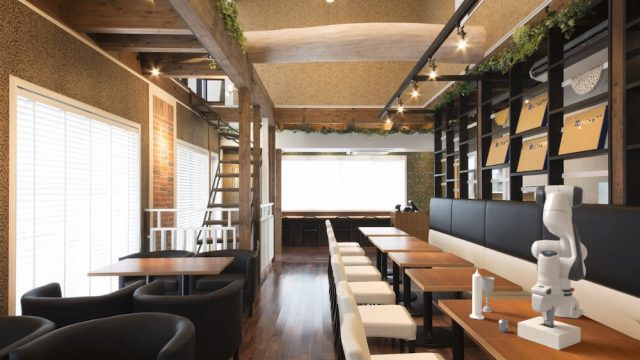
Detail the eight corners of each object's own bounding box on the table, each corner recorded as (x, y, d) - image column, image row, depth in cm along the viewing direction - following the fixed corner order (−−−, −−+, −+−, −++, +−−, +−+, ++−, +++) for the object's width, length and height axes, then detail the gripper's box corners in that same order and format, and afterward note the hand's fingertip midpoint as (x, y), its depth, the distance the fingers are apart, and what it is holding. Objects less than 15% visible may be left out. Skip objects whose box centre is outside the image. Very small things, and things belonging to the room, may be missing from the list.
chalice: (493, 309, 219) (494, 277, 219) (495, 313, 212) (495, 279, 212) (479, 308, 221) (479, 276, 221) (480, 312, 215) (480, 278, 215)
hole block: (539, 328, 190) (539, 316, 190) (580, 341, 175) (580, 327, 175) (517, 335, 181) (517, 322, 181) (558, 350, 165) (558, 335, 165)
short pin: (502, 329, 189) (502, 318, 189) (510, 331, 186) (510, 321, 186) (497, 330, 187) (497, 319, 187) (504, 333, 184) (504, 322, 184)
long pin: (546, 334, 180) (546, 303, 181) (555, 336, 177) (555, 305, 177) (541, 335, 178) (541, 304, 179) (550, 338, 175) (550, 306, 175)
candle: (485, 320, 202) (485, 270, 202) (470, 319, 203) (471, 270, 203) (482, 315, 209) (483, 268, 209) (468, 314, 210) (468, 267, 210)
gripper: (554, 283, 186) (554, 312, 186) (528, 288, 175) (528, 320, 175) (568, 286, 181) (568, 316, 181) (543, 292, 170) (543, 324, 170)
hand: (548, 318), depth 178 cm, fingers closed on long pin, 4 cm apart
